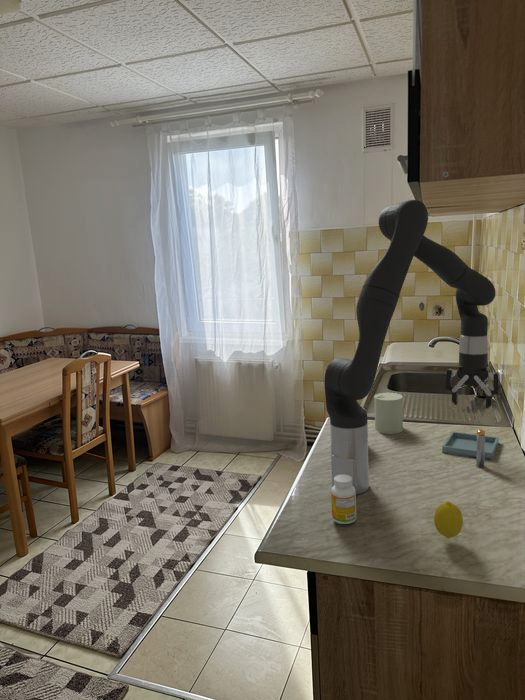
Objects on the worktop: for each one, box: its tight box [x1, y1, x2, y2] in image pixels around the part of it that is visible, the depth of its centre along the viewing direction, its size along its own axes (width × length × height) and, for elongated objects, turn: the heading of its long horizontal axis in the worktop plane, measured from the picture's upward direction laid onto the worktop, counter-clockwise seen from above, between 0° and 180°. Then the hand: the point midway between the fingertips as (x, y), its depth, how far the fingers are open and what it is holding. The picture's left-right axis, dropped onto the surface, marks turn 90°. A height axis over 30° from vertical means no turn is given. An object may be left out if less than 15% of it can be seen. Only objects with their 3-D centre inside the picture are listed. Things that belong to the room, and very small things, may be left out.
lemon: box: [433, 500, 464, 539], centre depth 104 cm, size 6×6×8 cm
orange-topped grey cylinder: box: [475, 429, 486, 469], centre depth 136 cm, size 2×2×10 cm
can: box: [373, 392, 404, 435], centre depth 167 cm, size 9×9×12 cm
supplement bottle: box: [330, 475, 357, 525], centre depth 113 cm, size 5×5×10 cm
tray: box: [441, 431, 500, 461], centre depth 149 cm, size 13×13×2 cm
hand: (471, 406), depth 147 cm, fingers open, 8 cm apart
